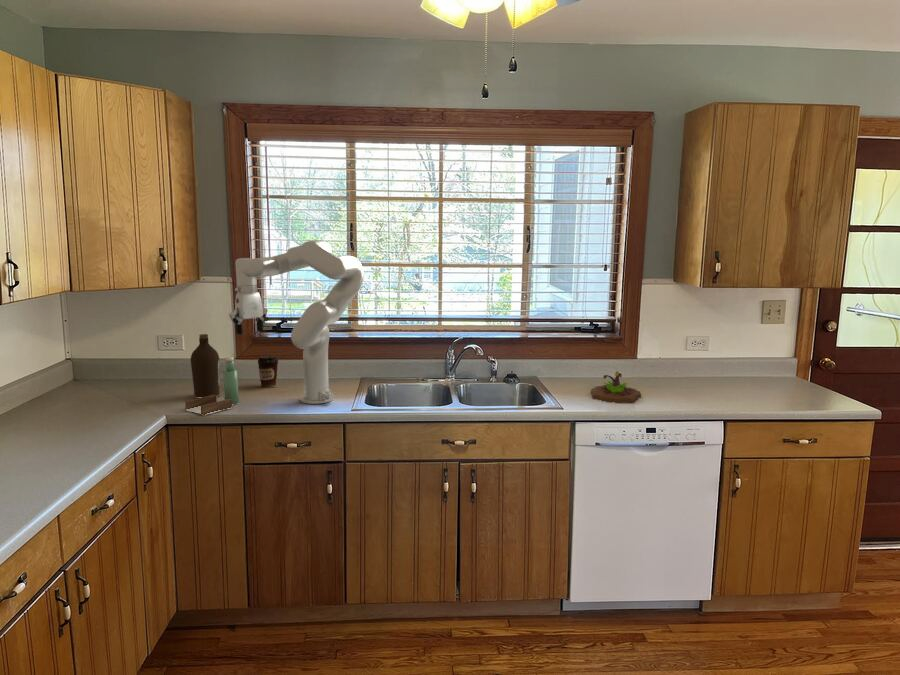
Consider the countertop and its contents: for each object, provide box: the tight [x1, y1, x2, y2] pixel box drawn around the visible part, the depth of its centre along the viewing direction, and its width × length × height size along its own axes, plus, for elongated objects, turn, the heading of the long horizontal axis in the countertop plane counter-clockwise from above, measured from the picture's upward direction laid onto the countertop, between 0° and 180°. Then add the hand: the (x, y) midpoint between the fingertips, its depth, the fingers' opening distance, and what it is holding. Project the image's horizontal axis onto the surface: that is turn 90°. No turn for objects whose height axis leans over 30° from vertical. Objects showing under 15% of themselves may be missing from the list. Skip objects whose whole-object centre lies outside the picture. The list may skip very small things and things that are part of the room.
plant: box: [590, 371, 642, 404], centre depth 260 cm, size 20×20×11 cm
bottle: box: [222, 356, 240, 405], centre depth 245 cm, size 5×5×18 cm
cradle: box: [184, 395, 233, 415], centre depth 238 cm, size 11×12×4 cm
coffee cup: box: [257, 354, 279, 388], centre depth 272 cm, size 9×8×13 cm
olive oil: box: [190, 333, 221, 397], centre depth 254 cm, size 11×11×25 cm
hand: (250, 332), depth 256 cm, fingers open, 9 cm apart
